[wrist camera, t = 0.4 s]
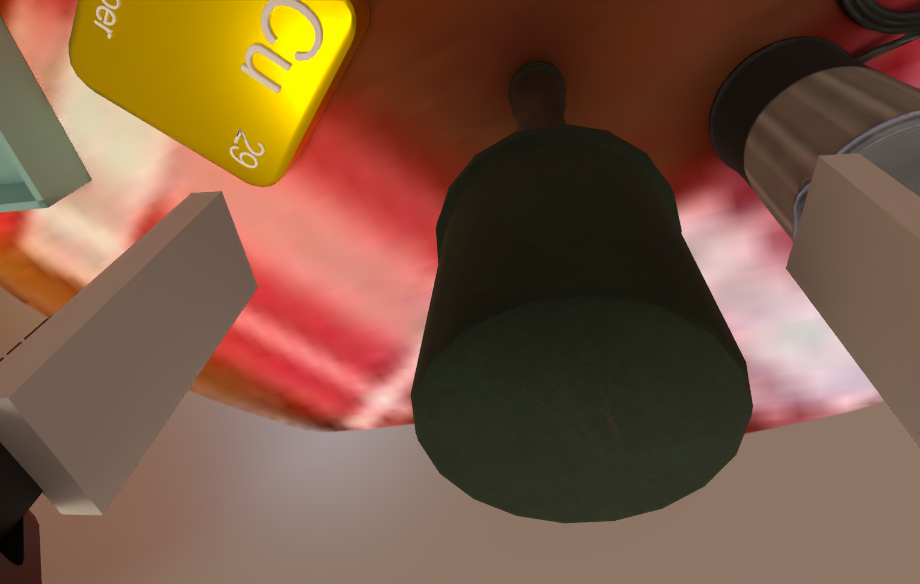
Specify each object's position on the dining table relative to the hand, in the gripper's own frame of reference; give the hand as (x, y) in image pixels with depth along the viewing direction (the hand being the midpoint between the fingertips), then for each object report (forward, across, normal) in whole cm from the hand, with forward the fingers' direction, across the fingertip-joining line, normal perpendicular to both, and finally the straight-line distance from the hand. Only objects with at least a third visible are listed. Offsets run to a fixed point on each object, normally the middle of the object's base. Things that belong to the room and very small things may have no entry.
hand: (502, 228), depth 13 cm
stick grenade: (+28, +2, -4) cm, 28 cm away
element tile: (+28, -19, +1) cm, 34 cm away
